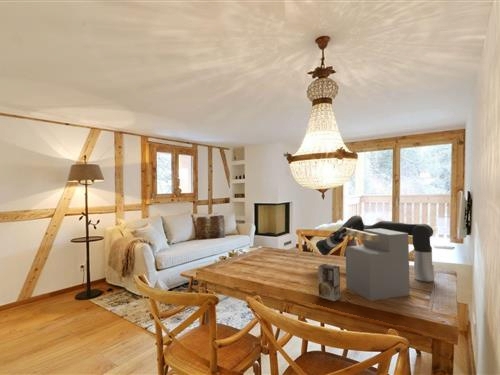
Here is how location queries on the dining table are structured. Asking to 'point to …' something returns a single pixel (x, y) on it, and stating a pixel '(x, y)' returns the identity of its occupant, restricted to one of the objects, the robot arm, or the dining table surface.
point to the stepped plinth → (379, 266)
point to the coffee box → (329, 282)
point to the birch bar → (361, 234)
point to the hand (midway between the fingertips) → (348, 229)
